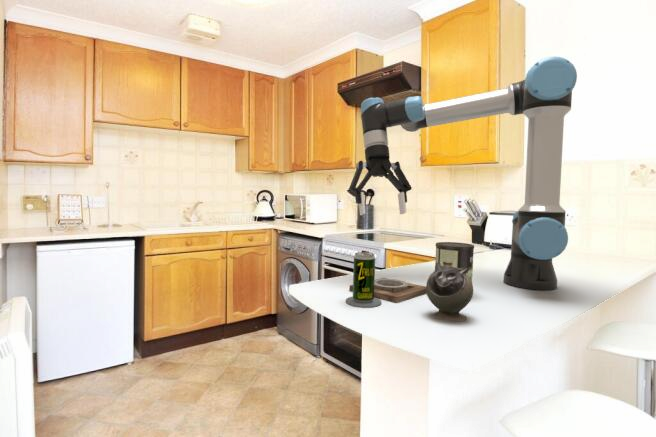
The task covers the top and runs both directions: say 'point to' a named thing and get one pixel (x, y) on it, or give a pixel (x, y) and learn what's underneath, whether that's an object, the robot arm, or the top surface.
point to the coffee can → (455, 255)
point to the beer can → (363, 277)
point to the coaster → (374, 303)
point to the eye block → (395, 290)
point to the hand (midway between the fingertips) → (383, 214)
